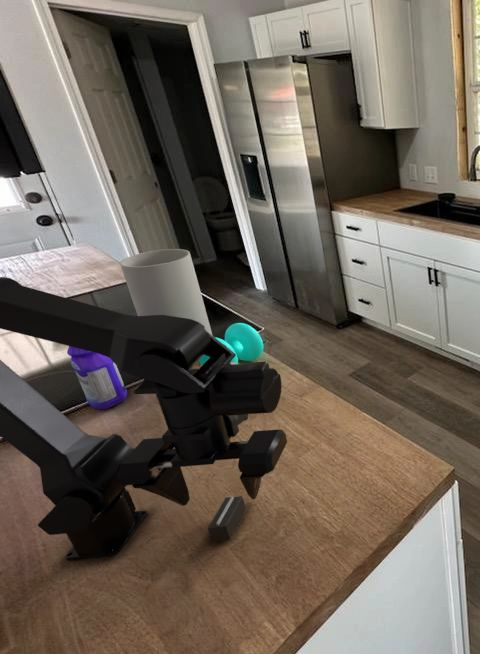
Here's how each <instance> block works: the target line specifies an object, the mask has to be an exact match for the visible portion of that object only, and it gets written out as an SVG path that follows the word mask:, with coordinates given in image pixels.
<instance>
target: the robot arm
mask: <svg viewBox="0 0 480 654" xmlns="http://www.w3.org/2000/svg"><path fill="white" fill-rule="evenodd" d="M204 328H205V326H204V325H202V324H201V323H199V322H197V321H195V320H192V319H187V318H181V317H174V316H167V315H149V316H138V315H132V314H127V313H126V314H125V313H121V312H119V311H115V310H112V309H111V310H110V309H107V308H104V307H100V306H97V305H93V304H89V303H86V302H82V301H79V300H75V299H71V298H68V297H65V296H61V295H57V294H53V293H50V292H46V291H43V290H39V289H36V288H32V287H29V286H26V285H25V286H24V285H23V284H22V283H20V282H19V281H17V280H16V279H12V278H10V277H5V276H1V277H0V329H1V330H4V331H8V332H12V333H17V334H19V335H25V336H27V337H28V336H29V337H32V338H37V339H41V340H43V341H48V342H52V343H55V344H58V345H59V344H60V345H64V346H68V347H69V346H71V347H75V348H79V349H83V350H87V351H91V352H95V353H99V354H101V355H104V356H107V357H109V358H110V359H111V360H112V361H113V362H114V363H115V364H116V366H117V368H118V370H120V371H121V372H124V373H127V374H130V375H132V376H135V377H137V378H139V379H143V380H142V381H141V383H140V384H139V385H138V386H137V387H136V388H135V389H134V390H133V394H134V395H150V394H154V395H155V396H156V398H157V401H158V404H159V408H160V410H161V412H162V415H163V419H164V421H165V424H166V427H167V429H166V431H165V432H164V433H163V434H162V435H161V437H154V438H143V439H142V440H141V441H140V442H139V443H138V444H137V445H136V446H135V447H133V446H131V445H130V444H129V443H127V441H126V440H125V439H124V438H123V436H122V435H120V434H117V433H113V434H110V435H109V436H108V437H107V436H105V437H104V436H96V435H90V434H87V433H86V432H85V431H83V430H82V429H81V428H80V427H79V426H77V425H76V423H74V422H73V421H71V419H69V418H68V417H67V416H66V415H65V414H64V413H63V412H61V411H60V409H58V408H57V407H56V406H54V405H53V404H52V403H51V402H50V401H49V400H47V399H46V397H44V396H43V395H42V394H41V393H39V392H38V391H37V390H36V389H35V388H34V387H32V385H30V384H29V383H28V382H27V381H26V380H24V378H22V377H21V376H20V375H19V374H18V373H16V372H15V371H14V370H13V369H12V368H11V367H9V366H8V365H7V364H6V363H5V361H3V360H2V359H0V437H1V438H2V439H3V440H5V441H6V442H7V443H9V444H10V445H11V446H13V448H15V449H16V450H17V451H19V452H20V453H21V454H22V455H24V456H25V457H26V458H28V459H29V460H30V461H32V463H34V464H35V465H37V467H39V470H40V477H41V479H40V480H41V486H42V492H43V493H42V494H43V495H45V496H46V497H47V498H48V500H50V502H51V503H52V504H53V505H54V506H53V508H52V509H51V510H50V511H49V512H48V513H47V514H46V515H45V516H44V517H43V518H42V519H41V520H40V521H39V523H37V526H38V528H40V529H41V530H42V531H44V532H45V533H46V534H47V535H49V536H53V535H65V534H66V536H67V538H68V540H69V541H70V544H71V545H72V547H71V548H70V549H69V550H68V552H67V553H66V554H65V556H64V559H65V560H66V561H71V560H81V559H83V560H84V559H93V558H101V557H110V556H111V557H112V556H116V555H118V554H119V553H120V552H121V551H122V550H123V548H124V547H125V546H126V544H127V543H128V542H129V541H130V539H131V538H132V536H134V533H135V532H136V531H137V530H138V528H140V526H141V524H142V523H143V522H144V520H145V519H147V516H148V515H149V513H148V511H147V510H137V508H136V506H135V503H134V501H133V499H132V496H131V494H130V492H129V489H126V487H127V486H132V488H133V489H141V490H143V491H146V492H149V493H152V494H154V495H157V496H160V497H162V498H163V499H167V500H169V501H171V502H172V503H173V502H174V503H176V504H177V505H180V506H182V507H184V506H187V504H188V503H189V501H190V499H191V498H190V492H189V487H188V485H187V482H186V480H185V476H184V474H183V471H182V468H184V467H194V466H195V467H196V466H207V465H209V466H210V465H214V464H215V463H216V461H224V460H225V461H227V460H236V459H237V460H238V461H237V467H238V470H239V472H240V473H241V474H240V476H239V480H240V482H241V484H242V485H243V487H244V489H245V491H246V493H247V495H248V497H250V499H251V500H256V499H257V496H258V495H259V491H260V487H261V482H262V478H263V477H264V476H265V475H267V474H270V473H271V472H273V471H274V470H275V468H276V466H277V465H278V462H279V460H280V458H281V456H282V453H283V451H284V450H285V448H286V446H287V444H288V440H287V439H288V438H287V434H286V432H285V431H284V430H283V429H266V430H254V431H253V432H252V434H251V436H250V437H249V438H248V440H242V441H231V438H236V436H237V434H238V433H239V431H240V429H239V425H240V424H242V423H243V422H247V420H249V415H256V414H257V415H258V414H259V415H260V414H271V413H273V412H274V411H276V409H277V408H278V405H279V403H280V399H281V396H282V395H281V394H282V378H281V373H279V372H278V370H277V369H276V368H274V367H272V368H271V367H270V364H269V362H268V361H265V360H264V361H256V362H251V363H250V362H249V363H238V364H231V363H230V362H231V361H232V359H233V358H234V357H235V356H236V354H235V353H234V352H232V351H231V350H230V349H229V348H227V347H226V345H224V344H222V343H221V342H220V341H219V340H217V339H216V338H217V337H216V336H214V335H213V334H212V335H213V336H212V335H211V334H210V333H209V332H207V331H206V330H205V329H204ZM215 337H216V338H215ZM203 355H206V356H209V357H210V358H209V359H208V360H207V361H206V362H205V363H204V364H203V365H202V366H200V367H199V368H192V367H193V366H194V365H195V364H197V363H198V362H199V359H200V358H201V357H202V356H203Z"/></svg>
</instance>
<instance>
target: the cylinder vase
mask: <svg viewBox="0 0 480 654" xmlns="http://www.w3.org/2000/svg"><path fill="white" fill-rule="evenodd" d="M119 266H120V268H121V271H122V274H123V277H124V280H125V284H126V286H127V288H128V291H129V295H130V297H131V300H132V303H133V306H134V309H135V312H136V316H149V315H167V316H174V317H181V318H187V319H192V320H195V321H197V322H199V323H201V324H202V325H204V326H205V328H204V329H205V330H206V331H207V332H209V333H210V334H211V335H212V336H214V335H213V333H212V332H213V331H212V328H211V324H210V320H209V317H208V313H207V311H206V310H207V309H206V306H205V303H204V299H203V296H202V292H201V288H200V285H199V281H198V277H197V273H196V270H195V266H194V263H193V259H192V255H191V251H189V250H187V249H183V248H167V249H158V250H157V249H156V250H151V251H144V252H141V253H137V254H136V253H135V254H133V255H130V256H127V257H125V258H124V259H122V260H121V261H120V262H119Z"/></svg>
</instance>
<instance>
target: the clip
mask: <svg viewBox="0 0 480 654" xmlns="http://www.w3.org/2000/svg"><path fill="white" fill-rule="evenodd" d="M246 509H247V507H246V504H245V501H244V497H243V495H240V496H239V495H238V496H228V497H225V498H224V499H223V501H222V503H221V505H220V506H219V508H218V510H217V512H216V513H215V515H214V516H213V519H212V520H211V522H210V524H209V525H208V527H207V530H208V533H209V536H210V538H211V541H212V542H214V541H222V540H223V541H224V540H230V539H231V538H232V535H233V534H234V532H235V530H236V528H237V526H238V524H239V523H240V520H241V518H242V516H243V514H244V512H245V510H246Z"/></svg>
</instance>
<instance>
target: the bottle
mask: <svg viewBox="0 0 480 654" xmlns="http://www.w3.org/2000/svg"><path fill="white" fill-rule="evenodd" d="M66 354H67V355H68V356H70V364H71V367H72V369H73V370H74V372H75V374H76V377H77V379H78V382H79V384H80V386H81V389H82V391H83V394H84V396H85V399H86V402H87V403H88V404H89V405H90V406H91V407H92V408H94V409H97V410H106V409H109V408H111V407H113V406H117V405H118V404H120V403H123V402H124V401H125V400H126V399H127V397H128V389H127V388H126V386H125V384H124V381H123V379H122V375H121V374H120V371H119V368H118V366H117V365H116V364H115V363H114V362H113V361H112V360H111V359H110V358H109V357H107V356H104V355H101V354H99V353H95V352H91V351H87V350H83V349H79V348H75V347H71V346H68V348H67V351H66Z"/></svg>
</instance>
